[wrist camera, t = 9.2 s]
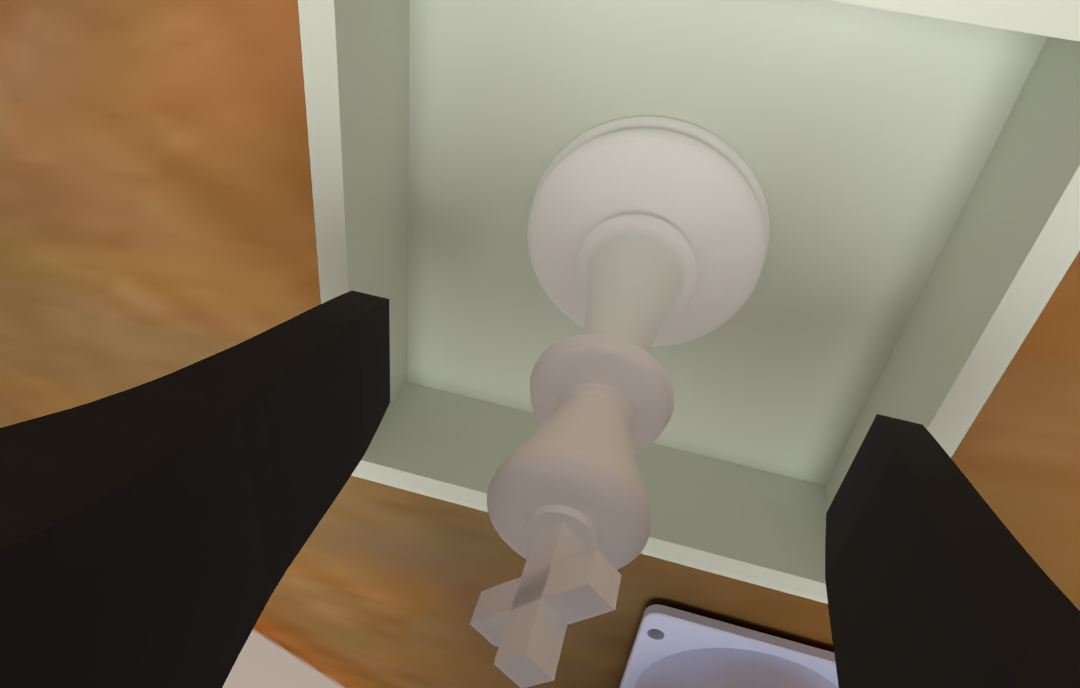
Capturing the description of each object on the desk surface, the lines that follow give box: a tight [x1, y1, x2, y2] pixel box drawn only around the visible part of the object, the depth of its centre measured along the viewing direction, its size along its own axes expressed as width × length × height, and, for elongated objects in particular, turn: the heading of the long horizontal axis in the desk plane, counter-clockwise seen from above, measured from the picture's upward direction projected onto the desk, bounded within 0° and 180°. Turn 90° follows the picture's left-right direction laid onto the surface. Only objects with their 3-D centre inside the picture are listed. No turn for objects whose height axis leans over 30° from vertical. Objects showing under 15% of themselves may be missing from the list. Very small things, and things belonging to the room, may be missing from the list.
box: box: [298, 0, 1080, 604], centre depth 14 cm, size 12×12×4 cm
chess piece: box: [470, 116, 770, 688], centre depth 11 cm, size 5×5×10 cm
